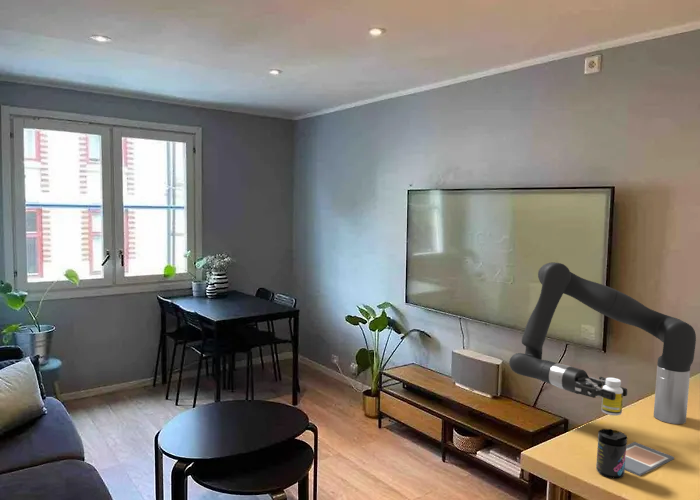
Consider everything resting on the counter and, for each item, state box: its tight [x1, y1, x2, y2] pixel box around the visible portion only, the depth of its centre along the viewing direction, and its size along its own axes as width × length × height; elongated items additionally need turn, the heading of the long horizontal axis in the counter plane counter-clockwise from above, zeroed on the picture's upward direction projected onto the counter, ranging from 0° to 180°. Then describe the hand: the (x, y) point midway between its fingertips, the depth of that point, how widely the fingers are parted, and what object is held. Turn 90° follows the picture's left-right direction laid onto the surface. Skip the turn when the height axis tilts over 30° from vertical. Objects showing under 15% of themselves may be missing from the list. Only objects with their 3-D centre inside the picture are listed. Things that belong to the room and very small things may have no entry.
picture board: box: [625, 441, 675, 477], centre depth 147 cm, size 18×11×1 cm, turn 124°
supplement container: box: [595, 428, 628, 480], centre depth 138 cm, size 7×7×10 cm
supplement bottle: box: [600, 377, 624, 416], centre depth 154 cm, size 5×5×10 cm
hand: (620, 394), depth 152 cm, fingers closed on supplement bottle, 5 cm apart
